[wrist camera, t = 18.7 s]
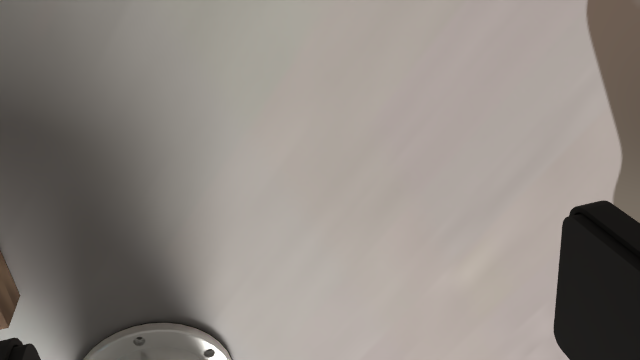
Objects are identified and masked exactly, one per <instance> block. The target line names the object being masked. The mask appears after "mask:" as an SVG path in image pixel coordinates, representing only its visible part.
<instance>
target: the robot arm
mask: <svg viewBox="0 0 640 360" xmlns="http://www.w3.org/2000/svg"><path fill="white" fill-rule="evenodd" d="M554 335H555V339H556V341H557V343H558V345H559V347H560V348H561V350H562V351H563V352H564V353H565V354H566V356H567V357H568V358H569V359H570V360H640V223H638V222H637V221H636V220H634V219H633V218H631V217H630V216H628V215H627V214H626V213H624V212H623V211H621V210H620V209H619V208H617V207H616V206H614V205H613V204H612V203H610V202H608V201H598V202H594V203H590V204H585V205H581V206H577V207H575V208H573V209H572V210H571V212H570V215H569V217H566V218H565V219H564V221H563V225H562V237H561V249H560V260H559V272H558V284H557V296H556V307H555V319H554ZM0 360H41V359H40V357H39V355H38V352H37V350H36V348H35V347H34V345H32V344H26V345H23V344H22V342H21V341H20V340H19V339H18V338H11V339H7V340H3V341H0ZM83 360H232V359H231V357H230V355H229V354H228V352H227V350H226V349H225V348H224V347H223V346H222V345H221V344H220V342H219V341H217V340H216V339H214V338H213V337H212V336H210V335H209V334H207V333H205V332H203V331H201V330H198V329H196V328H193V327H189V326H185V325H182V324H173V323H150V324H144V325H139V326H134V327H131V328H128V329H125V330H122V331H120V332H117V333H115V334H113V335H112V336H110V337H108V338H106V339H104V340H103V341H102V342H100V343H99V344H98V345H97V346H95V347H94V348H93V349H92V350H91V351H90V352H89V353H88V354H87V356H86V357H85V358H84V359H83Z"/></svg>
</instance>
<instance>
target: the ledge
mask: <svg viewBox="0 0 640 360" xmlns="http://www.w3.org/2000/svg"><path fill="white" fill-rule="evenodd" d="M19 297H20V295H19V292H18V290H17V288H16V285H15V283H14V281H13V279H12V276H11V274H10V272H9V269H8V267H7V265H6V262H5V260H4V258H3V256H2V253H1V251H0V329H5V328H9V325H10V322H11V319H12V317H13V314H14V311H15V308H16V306H17V303H18V300H19Z"/></svg>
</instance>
